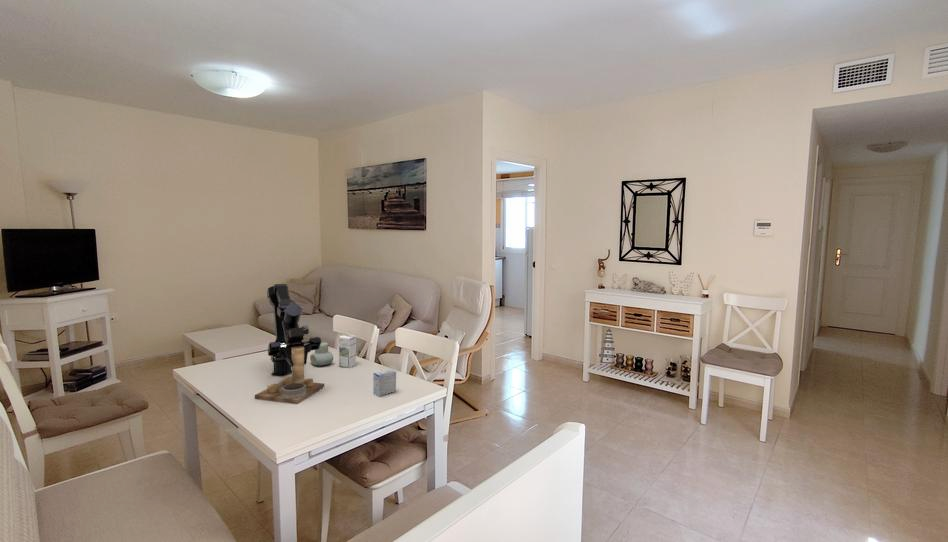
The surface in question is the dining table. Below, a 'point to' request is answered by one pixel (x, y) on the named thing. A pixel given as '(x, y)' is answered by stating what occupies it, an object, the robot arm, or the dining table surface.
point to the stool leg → (298, 364)
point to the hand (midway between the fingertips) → (298, 365)
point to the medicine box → (384, 382)
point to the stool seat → (289, 391)
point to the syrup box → (347, 351)
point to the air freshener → (322, 355)
